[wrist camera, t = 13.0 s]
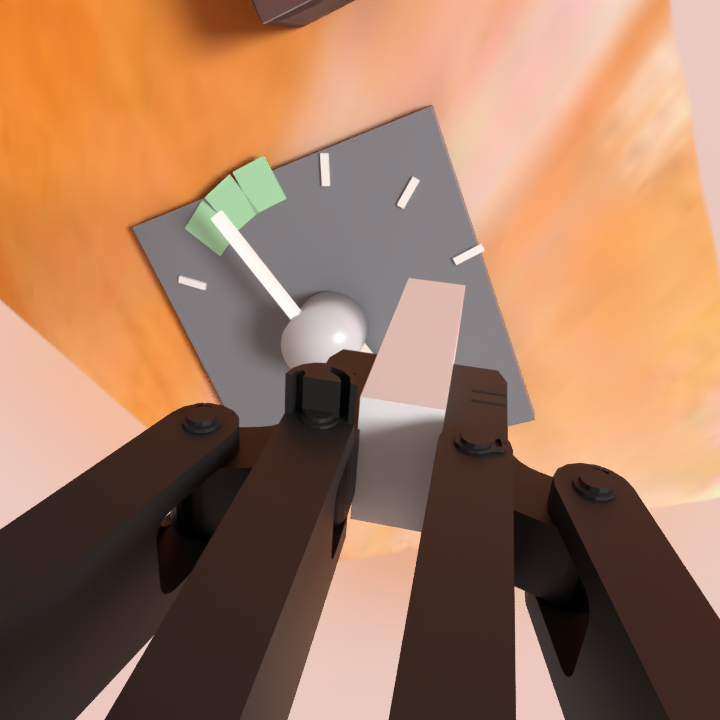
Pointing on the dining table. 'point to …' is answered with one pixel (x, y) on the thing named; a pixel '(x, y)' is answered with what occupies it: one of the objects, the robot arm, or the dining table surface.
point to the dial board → (327, 258)
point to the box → (295, 11)
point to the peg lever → (305, 311)
